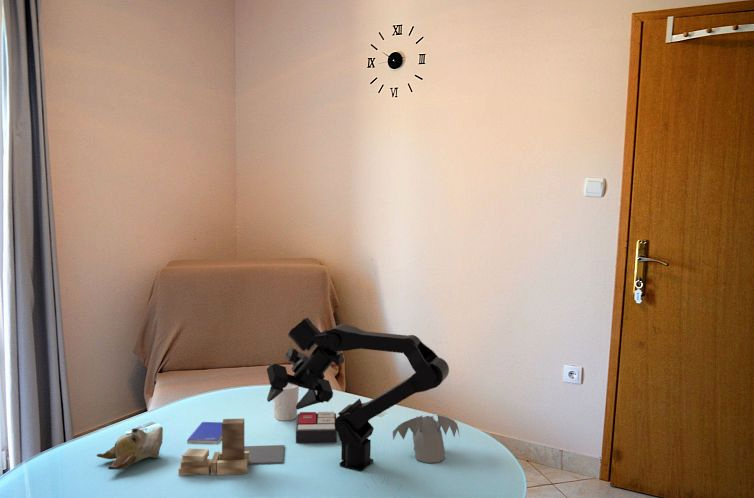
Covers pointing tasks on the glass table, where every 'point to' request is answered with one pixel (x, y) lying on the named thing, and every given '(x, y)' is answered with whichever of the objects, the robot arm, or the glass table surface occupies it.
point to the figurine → (427, 436)
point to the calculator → (316, 427)
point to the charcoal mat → (265, 454)
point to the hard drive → (207, 433)
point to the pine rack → (229, 465)
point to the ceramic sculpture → (134, 448)
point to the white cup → (286, 403)
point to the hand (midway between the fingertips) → (282, 404)
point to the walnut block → (233, 439)
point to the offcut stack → (195, 462)
